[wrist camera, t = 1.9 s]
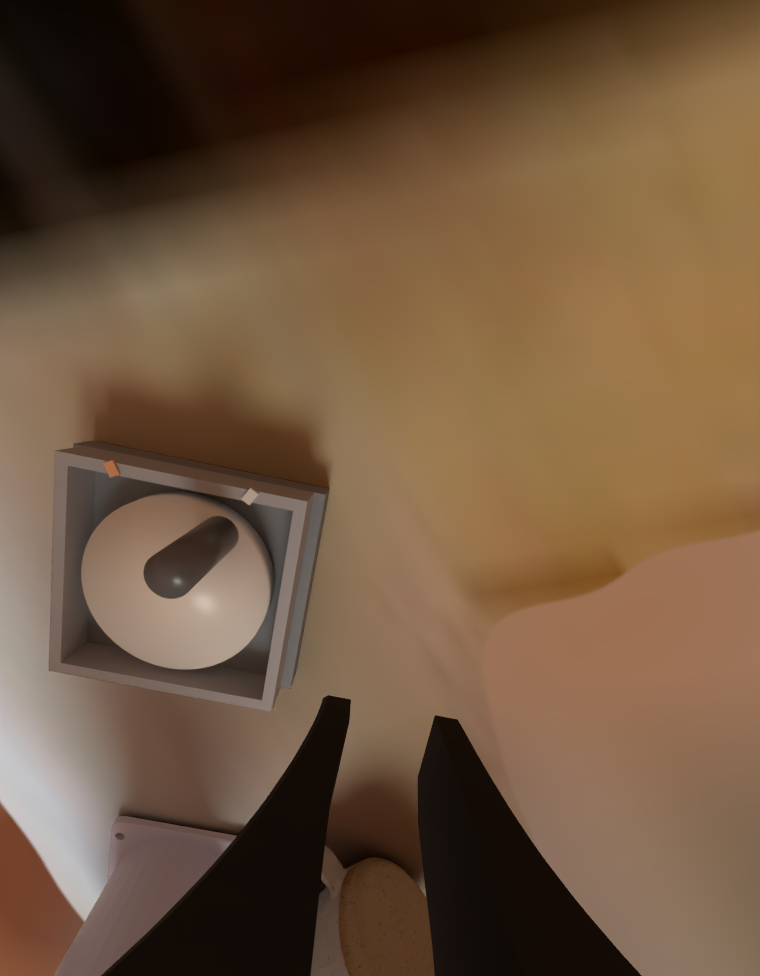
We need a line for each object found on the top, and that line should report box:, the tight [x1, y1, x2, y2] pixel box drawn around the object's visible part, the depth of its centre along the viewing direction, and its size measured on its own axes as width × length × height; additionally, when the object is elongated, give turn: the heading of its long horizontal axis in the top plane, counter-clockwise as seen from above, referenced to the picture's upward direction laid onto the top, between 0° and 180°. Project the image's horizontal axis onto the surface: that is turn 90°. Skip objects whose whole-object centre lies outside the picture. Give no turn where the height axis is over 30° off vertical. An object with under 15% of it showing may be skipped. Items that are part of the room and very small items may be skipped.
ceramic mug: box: [311, 845, 435, 976], centre depth 20 cm, size 11×8×8 cm
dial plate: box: [49, 441, 329, 712], centre depth 18 cm, size 10×11×3 cm
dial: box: [81, 491, 274, 669], centre depth 16 cm, size 8×8×5 cm
